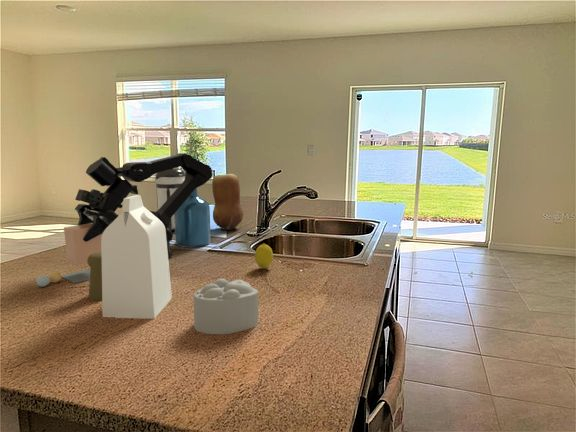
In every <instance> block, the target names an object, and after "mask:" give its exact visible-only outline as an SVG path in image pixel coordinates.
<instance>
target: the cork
mask: <svg viewBox="0 0 576 432" xmlns="http://www.w3.org/2000/svg"><path fill="white" fill-rule="evenodd" d="M87 262H88V263H87V264H88V266H89V267H90V268H89V269H90V280H89V283H88V284H89V288H88V299H89V300H92V301H102V255H101V252H98V253H93V254H91V255H89V257H88V260H87Z"/></svg>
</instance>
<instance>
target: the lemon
mask: <svg viewBox="0 0 576 432" xmlns="http://www.w3.org/2000/svg"><path fill="white" fill-rule="evenodd" d="M254 252H255V253H254V260H255V263H256V265H257V266H259V267H261V268H262V269H263V270H265V269H266V268H268V267H270V266H271V264H272V263H273V260H274V254H273V249H272V248H271V247H270V246H269V245H268V244H266V243H262V244H260V245H258V247H257V248H256V250H255V251H254Z"/></svg>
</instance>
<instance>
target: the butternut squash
mask: <svg viewBox="0 0 576 432" xmlns="http://www.w3.org/2000/svg"><path fill="white" fill-rule="evenodd" d="M212 177H213V178H212V195H213V199H214V206H213V210H212V220H213V222H214V224H215V225H216V226H217V227H218V228H221V230H226V231H227V230H228V231H231V230H235V228H237V227H238V226H239V224H240V223H242V221H243V219H244V218H243V217H244V215H245V214H244V212H243V208H242V206H241V188H240V181H239V178H238V176H237V175H236V174H234V173H226V174H217V175H215V176H212Z"/></svg>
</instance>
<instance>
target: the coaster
mask: <svg viewBox="0 0 576 432" xmlns="http://www.w3.org/2000/svg"><path fill="white" fill-rule="evenodd" d="M90 269H91V268H88V269H84V270H80V271H75V272H71V273H67V274H66V273H65V274H61V279H64V280H66V281H68V282H70V283H71V284H78V283H81V282H87V281H90Z"/></svg>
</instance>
